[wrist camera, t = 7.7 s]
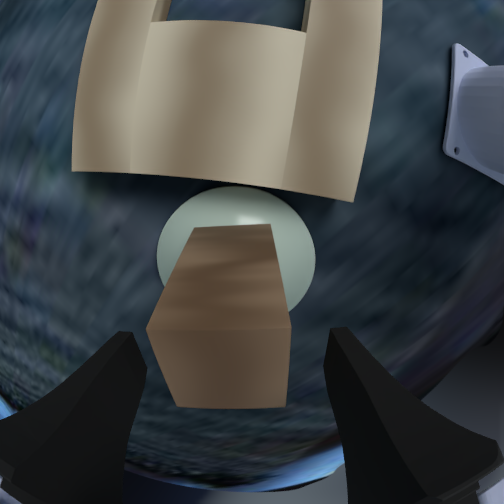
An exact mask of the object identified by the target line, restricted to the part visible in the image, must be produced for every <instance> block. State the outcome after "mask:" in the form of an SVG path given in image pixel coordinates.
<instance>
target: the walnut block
mask: <svg viewBox="0 0 504 504" xmlns="http://www.w3.org/2000/svg"><path fill="white" fill-rule="evenodd" d="M146 332H147V334H148V337H149V340H150V343H151V345H152V348H153V351H154V353H155V356H156V358H157V361H158V363H159V366H160V368H161V371H162V373H163V376H164V378H165V380H166V383H167V385H168V387H169V390H170V392H171V394H172V396H173V398H174V401H175V403H176V405H177V407H190V408H211V409H252V408H274V407H286V396H287V384H288V371H289V357H290V342H291V323H290V318H289V312H288V307H287V302H286V297H285V292H284V287H283V282H282V277H281V272H280V267H279V262H278V257H277V252H276V247H275V243H274V238H273V233H272V228H271V224H251V225H230V226H211V227H194V229H193V231H192V233H191V234H190V236H189V238H188V240H187V242H186V244H185V246H184V248H183V250H182V252H181V254H180V256H179V258H178V260H177V262H176V265H175V267H174V269H173V271H172V273H171V275H170V277H169V279H168V281H167V283H166V285H165V288H164V290H163V292H162V294H161V296H160V298H159V301H158V303H157V305H156V307H155V309H154V312H153V314H152V316H151V318H150V321H149V323H148V325H147V328H146Z"/></svg>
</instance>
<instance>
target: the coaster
mask: <svg viewBox="0 0 504 504" xmlns="http://www.w3.org/2000/svg"><path fill="white" fill-rule="evenodd" d="M251 224H271V228H272V233H273V238H274V243H275V247H276V252H277V257H278V262H279V267H280V272H281V277H282V282H283V287H284V292H285V297H286V302H287V307H288V312H289V311H290V310H291V309H293V308H294V307H295V306H296V305H297V304H298V303H299V302H300V300H301V299H302V298H303V296H304V295H305V293H306V292H307V290H308V288H309V286H310V283H311V281H312V278H313V274H314V269H315V250H314V245H313V241H312V238H311V236H310V233H309V231H308V229H307V227H306V225H305V224H304V222H303V220H302V219H301V217H300V216H299V215H298V214H297V213H296V211H295V210H294V209H293V208H292V207H290V206H289V205H288V204H287V203H286V202H284V201H283V200H282V199H280V198H279V197H277V196H275V195H273V194H271V193H269V192H267V191H264V190H261V189H258V188H253V187H248V186H238V185H231V186H221V187H216V188H212V189H209V190H206V191H203V192H201V193H199V194H197V195H195V196H193V197H191V198H190V199H189V200H187V201H186V202H184V203H183V204H182V205H181V206H180V207H179V208H178V209H177V210H176V211H175V212H174V213H173V215H172V216H171V217H170V219H169V220H168V221H167V223H166V225H165V227H164V228H163V230H162V233H161V236H160V238H159V243H158V247H157V265H158V270H159V275H160V277H161V280H162V283H163V285H164V287H165V285H166V283H167V281H168V279H169V277H170V275H171V273H172V271H173V269H174V267H175V265H176V262H177V260H178V258H179V256H180V254H181V252H182V250H183V248H184V246H185V244H186V242H187V240H188V238H189V236H190V234H191V233H192V231H193V229H194V227H211V226H230V225H251Z"/></svg>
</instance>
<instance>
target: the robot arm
mask: <svg viewBox="0 0 504 504" xmlns="http://www.w3.org/2000/svg"><path fill="white" fill-rule="evenodd" d="M463 53H464V54H463ZM464 55H465V56H464ZM455 148H456V152H454V149H455ZM443 151H444V153H445V154H446V155H448V156H450V157H452V158H454V159H456V160H458V161H460V162H463V163H464V164H466V165H468V166H470V167H472V168H474V169H476V170H478V171H480V172H482V173H483V174H485V175H487V176H489V177H490V178H492V179H494V180H496V181H497V182H499V183H501V184H502V185H504V66H488V65H487V64H486V63H484V62H483V61H482V60H481V59H479V58H478V57H477V56H475V55H474V54H473V53H471V52H470V51H469V50H467V49H466V48H464V47H463V46H462V45H460V44H453V45H452V70H451V87H450V98H449V108H448V116H447V123H446V130H445V136H444V142H443ZM323 367H324V374H325V380H326V386H327V391H328V395H329V398H330V402H331V405H332V409H333V413H334V416H335V420H336V423H337V427H338V430H339V434H340V438H341V442H342V447H343V453H344V461H345V468H346V478H347V489H348V504H504V477H503V478H501V479H500V480H498V481H497V482H495V483H494V484H492V485H491V486H489V487H488V488H486V489H485V490H483V491H481V492H480V493H477V494H476V490H478V489H479V488H480V486H479V483H478V481H479V480H480V479H482V478H483V477H485V476H486V475H488V474H489V473H491V472H492V471H493V470H495V469H496V468H497V467H499V466H500V465H502V464H503V463H504V458H503V456H502V453H501V450H500V448H499V446H498V444H497V442H496V440H493V439H490V438H487V437H485V436H482V435H480V434H477V433H474V432H472V431H470V430H468V429H466V428H464V427H462V426H460V425H458V424H456V423H454V422H452V421H451V420H449V419H447V418H446V417H444V416H442V415H441V414H439V413H438V412H436V411H434V410H433V409H431V408H430V407H429V406H427V405H426V404H424V403H423V402H422V401H420V400H419V399H418V398H417V397H415V396H414V395H413V394H412V393H410V392H409V391H408V390H407V389H406V388H405V387H403V386H402V385H401V384H400V383H399V382H398V381H397V380H396V379H395V378H394V377H393V376H392V375H391V374H390V373H389V372H388V371H387V370H386V369H385V368H384V367H383V366H382V365H381V364H380V363H379V362H378V361H377V360H376V359H375V358H374V357H373V356H372V355H371V354H370V353H369V351H368V350H367V349H366V348H365V347H364V346H363V345H362V344H361V342H360V341H359V340H358V339H357V338H356V337H355V336H354V334H353V333H352V332H351V331H350V330H349V329H348V328H347V327H340V328H330V333H329V339H328V344H327V350H326V355H325V360H324V365H323ZM146 373H147V366H146V364H145V362H144V359H143V357H142V355H141V352H140V350H139V348H138V345H137V343H136V340H135V338H134V335H133V333H132V332H122V331H118V332H117V333H116V334H115V335H114V336H113V337H112V338H110V339H109V340H108V341H107V342H106V343H105V344H104V345H103V346H102V347H101V348H100V349H99V350H98V351H97V352H96V353H95V354H94V355H92V356H91V357H90V358H89V359H88V360H87V361H86V362H85V363H84V364H83V365H82V366H81V367H80V368H79V369H77V370H76V371H75V372H74V373H73V374H72V375H71V376H69V377H68V378H67V379H66V380H65V381H64V382H63V383H61V384H60V385H59V386H58V387H56V388H55V389H54V390H52V391H51V392H50V393H48V394H47V395H45V396H44V397H43V398H41V399H39V400H38V401H36V402H35V403H33V404H31V405H30V406H28V407H26V408H25V409H23V410H21V411H19V412H17V413H15V414H13V415H11V416H9V417H6V418H4V419H2V420H0V475H1V476H2V477H3V478H2V477H1V476H0V504H123V503H122V490H123V489H122V487H123V472H124V462H125V455H126V448H127V443H128V439H129V435H130V431H131V428H132V425H133V422H134V418H135V415H136V412H137V409H138V406H139V403H140V399H141V396H142V393H143V389H144V384H145V379H146Z"/></svg>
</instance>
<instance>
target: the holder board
mask: <svg viewBox="0 0 504 504" xmlns="http://www.w3.org/2000/svg"><path fill="white" fill-rule="evenodd" d="M170 4H171V0H98V2H97V5H96V9H95V12H94V15H93V18H92V22H91V25H90V29H89V33H88V37H87V41H86V45H85V49H84V54H83V59H82V64H81V69H80V75H79V81H78V88H77V95H76V103H75V113H74V125H73V142H72V171H91V172H119V173H137V174H152V175H165V176H177V177H188V178H198V179H208V180H216V181H225V182H233V183H241V184H248V185H255V186H262V187H269V188H276V189H282V190H288V191H294V192H300V193H306V194H312V195H317V196H323V197H328V198H333V199H338V200H343V201H348V202H353V200H354V196H355V192H356V188H357V184H358V179H359V175H360V170H361V166H362V161H363V156H364V151H365V146H366V141H367V136H368V130H369V124H370V119H371V112H372V106H373V100H374V93H375V85H376V77H377V69H378V60H379V50H380V37H381V22H382V0H306V1H305V8H304V14H303V21H302V28H301V32H300V31H295V30H290V29H285V28H279V27H273V26H267V25H259V24H251V23H241V22H229V21H207V20H183V21H166V19H167V15H168V11H169V8H170Z"/></svg>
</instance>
